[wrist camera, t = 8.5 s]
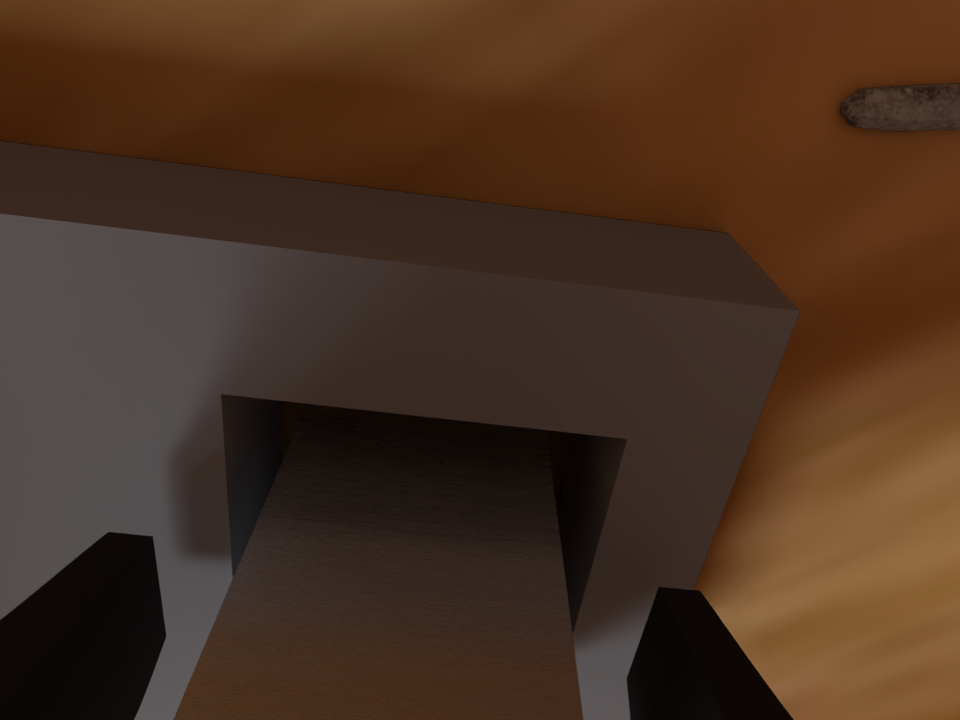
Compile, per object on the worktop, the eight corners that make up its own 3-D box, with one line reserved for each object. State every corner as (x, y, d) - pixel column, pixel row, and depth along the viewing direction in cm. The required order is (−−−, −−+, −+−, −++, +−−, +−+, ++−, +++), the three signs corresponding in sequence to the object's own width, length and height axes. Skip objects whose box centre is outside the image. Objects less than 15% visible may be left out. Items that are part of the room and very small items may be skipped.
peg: (321, 528, 15) (166, 1041, 8) (323, 363, 13) (121, 845, 6) (510, 547, 15) (530, 1062, 8) (540, 387, 13) (603, 881, 6)
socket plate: (-209, 567, 15) (-353, 691, 13) (-443, 84, 10) (-758, 121, 8) (600, 644, 16) (622, 774, 14) (727, 233, 11) (800, 311, 9)
